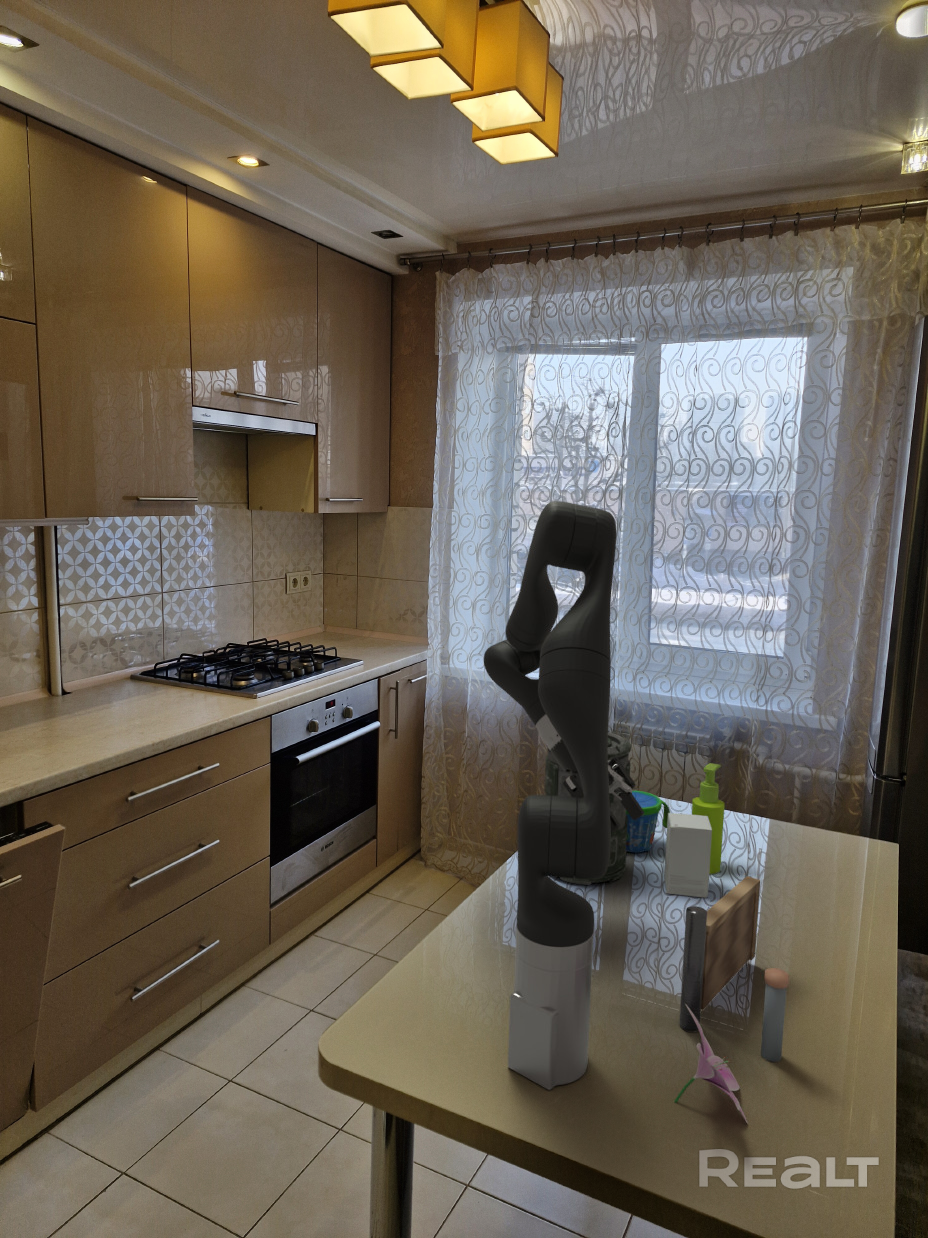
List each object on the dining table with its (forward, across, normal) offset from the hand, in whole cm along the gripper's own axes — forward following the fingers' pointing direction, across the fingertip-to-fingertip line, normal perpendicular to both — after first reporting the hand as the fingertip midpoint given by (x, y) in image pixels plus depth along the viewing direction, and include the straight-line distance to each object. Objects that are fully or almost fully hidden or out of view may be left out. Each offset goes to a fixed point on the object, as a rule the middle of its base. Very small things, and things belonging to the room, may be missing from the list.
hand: (627, 823), depth 127 cm
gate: (+25, -3, -1) cm, 25 cm away
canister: (+1, +17, +26) cm, 31 cm away
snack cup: (+2, +33, +25) cm, 41 cm away
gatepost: (+26, -15, 0) cm, 30 cm away
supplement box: (+13, +23, +13) cm, 30 cm away
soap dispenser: (+13, +34, +14) cm, 39 cm away
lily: (+32, -27, -6) cm, 42 cm away
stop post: (+33, -14, -7) cm, 37 cm away
